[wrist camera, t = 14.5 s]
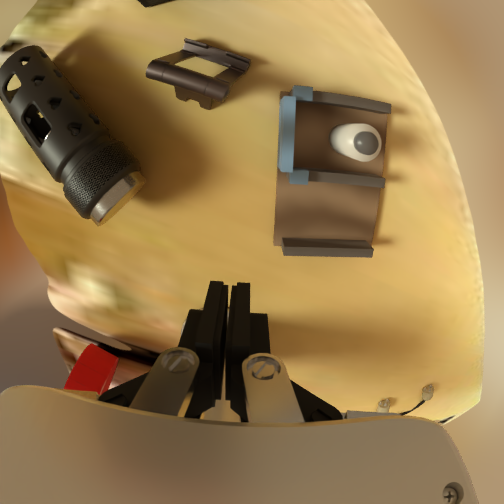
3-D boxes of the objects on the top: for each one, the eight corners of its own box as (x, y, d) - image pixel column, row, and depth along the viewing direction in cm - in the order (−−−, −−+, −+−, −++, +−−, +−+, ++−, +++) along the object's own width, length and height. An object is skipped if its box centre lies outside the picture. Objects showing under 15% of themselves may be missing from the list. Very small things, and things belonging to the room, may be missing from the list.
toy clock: (99, 324, 45) (52, 405, 27) (126, 338, 47) (86, 425, 29) (88, 375, 53) (57, 441, 35) (109, 387, 54) (82, 455, 36)
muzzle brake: (59, 49, 25) (16, 39, 16) (162, 169, 34) (131, 185, 25) (25, 95, 28) (-18, 97, 18) (118, 214, 37) (82, 242, 28)
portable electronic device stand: (252, 63, 29) (253, 44, 21) (225, 116, 32) (217, 113, 24) (189, 41, 27) (172, 20, 20) (163, 94, 30) (138, 86, 23)
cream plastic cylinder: (357, 156, 32) (383, 165, 25) (327, 152, 32) (347, 160, 25) (359, 126, 31) (386, 127, 23) (329, 121, 31) (350, 120, 23)
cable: (419, 410, 61) (423, 419, 58) (369, 426, 62) (372, 436, 59) (433, 379, 55) (438, 389, 51) (377, 398, 56) (381, 409, 53)
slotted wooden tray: (368, 245, 39) (384, 264, 33) (272, 242, 39) (275, 262, 33) (384, 105, 30) (406, 103, 25) (279, 90, 30) (284, 83, 25)
